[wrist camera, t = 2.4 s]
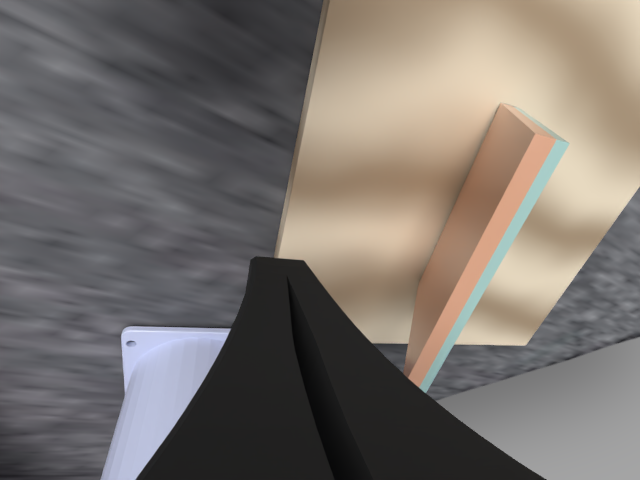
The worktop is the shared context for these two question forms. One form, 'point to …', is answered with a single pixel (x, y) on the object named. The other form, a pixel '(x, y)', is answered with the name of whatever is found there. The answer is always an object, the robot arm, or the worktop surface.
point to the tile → (479, 234)
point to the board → (458, 148)
